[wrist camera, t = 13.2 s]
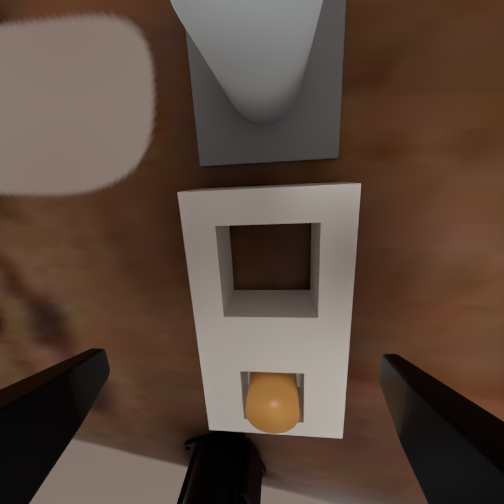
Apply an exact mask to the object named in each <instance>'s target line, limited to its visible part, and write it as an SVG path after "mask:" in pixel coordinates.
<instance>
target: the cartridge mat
mask: <svg viewBox="0 0 504 504" xmlns="http://www.w3.org/2000/svg"><path fill="white" fill-rule="evenodd" d="M345 10H346V0H323V3H322V7H321V11H320V15H319V19H318V22H317V26H316V30H315V34H314V38H313V42H312V46H311V50H310V54H309V58H308V61H307V65H306V69H305V73H304V77H303V81H302V85H301V89H300V92H299V96H298V98H297V101H296V102H295V104H294V106H293V107H292V109H291V110H290V111H289V112H288V113H287V114H286V115H285V116H284V117H282V118H281V119H279V120H277V121H275V122H272V123H267V124H258V123H254V122H251V121H249V120H247V119H245V118H244V117H243V116H241V115H240V114H239V113H238V112H237V110H236V109H235V107H234V106H233V104H232V103H231V101H230V99H229V98H228V96H227V95H226V93H225V91H224V90H223V88H222V86H221V85H220V83H219V82H218V80H217V78H216V77H215V75H214V74H213V72H212V70H211V69H210V67H209V66H208V64H207V62H206V61H205V59H204V57H203V56H202V54H201V53H200V51H199V49H198V48H197V46H196V45H195V43H194V41H193V40H192V38H191V36H190V35H189V33H188V32H187V30H186V38H187V48H188V57H189V67H190V76H191V85H192V95H193V104H194V114H195V123H196V133H197V142H198V152H199V161H200V166H203V167H205V166H222V165H238V164H255V163H272V162H288V161H305V160H322V159H336V158H339V138H340V117H341V95H342V74H343V53H344V31H345ZM185 29H186V28H185Z"/></svg>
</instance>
